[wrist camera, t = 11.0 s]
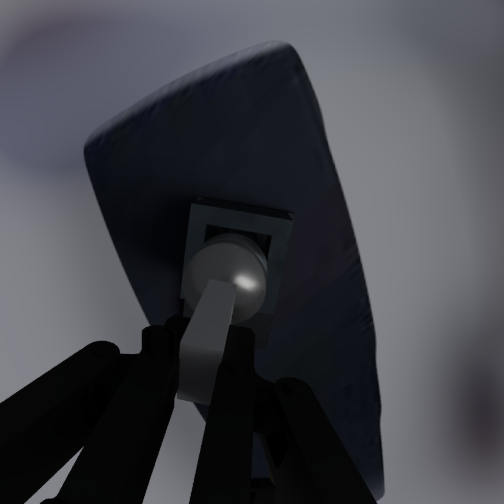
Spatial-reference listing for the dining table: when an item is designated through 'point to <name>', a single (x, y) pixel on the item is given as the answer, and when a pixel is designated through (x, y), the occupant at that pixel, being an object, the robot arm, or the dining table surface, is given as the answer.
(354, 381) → the dining table surface
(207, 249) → the dark grey round knob
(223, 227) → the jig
